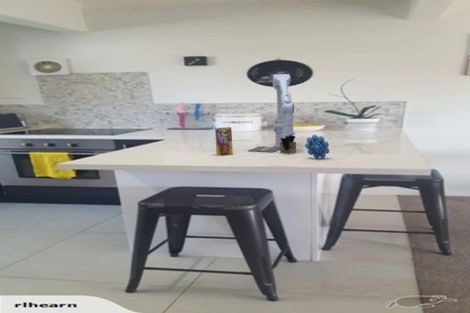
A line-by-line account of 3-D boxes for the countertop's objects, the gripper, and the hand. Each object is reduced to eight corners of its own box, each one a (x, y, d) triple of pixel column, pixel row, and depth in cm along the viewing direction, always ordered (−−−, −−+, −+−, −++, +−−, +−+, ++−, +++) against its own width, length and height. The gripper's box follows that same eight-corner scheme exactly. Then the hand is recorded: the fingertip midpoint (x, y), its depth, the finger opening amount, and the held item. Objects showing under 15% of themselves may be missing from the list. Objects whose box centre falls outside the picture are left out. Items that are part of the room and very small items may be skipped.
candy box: (231, 153, 191) (230, 126, 188) (233, 154, 187) (231, 127, 184) (216, 154, 189) (214, 127, 186) (217, 155, 185) (215, 128, 182)
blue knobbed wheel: (304, 160, 163) (304, 135, 161) (305, 157, 170) (305, 134, 168) (328, 160, 160) (329, 135, 158) (329, 157, 166) (329, 134, 164)
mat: (259, 147, 209) (259, 146, 209) (283, 148, 201) (283, 147, 201) (247, 151, 195) (247, 150, 195) (272, 152, 187) (272, 151, 187)
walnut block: (282, 151, 189) (282, 141, 188) (296, 152, 185) (296, 141, 184) (280, 152, 186) (280, 142, 185) (293, 153, 182) (293, 142, 181)
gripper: (290, 126, 175) (290, 151, 177) (299, 123, 187) (299, 147, 190) (277, 126, 178) (278, 151, 181) (287, 123, 191) (287, 147, 193)
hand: (288, 149), depth 185 cm, fingers open, 5 cm apart
